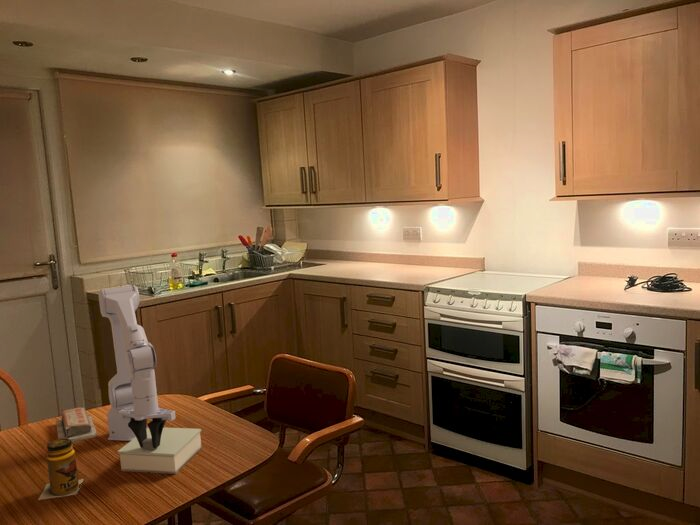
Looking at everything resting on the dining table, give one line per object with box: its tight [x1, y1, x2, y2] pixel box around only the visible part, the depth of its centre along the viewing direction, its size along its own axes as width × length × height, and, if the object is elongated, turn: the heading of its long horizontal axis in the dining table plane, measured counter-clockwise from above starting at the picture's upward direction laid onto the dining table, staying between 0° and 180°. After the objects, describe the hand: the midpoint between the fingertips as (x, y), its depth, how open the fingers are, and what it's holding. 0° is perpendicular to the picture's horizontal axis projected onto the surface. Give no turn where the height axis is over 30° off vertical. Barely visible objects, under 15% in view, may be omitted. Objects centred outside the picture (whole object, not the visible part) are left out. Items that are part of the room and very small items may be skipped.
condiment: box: [37, 438, 84, 501], centre depth 137 cm, size 7×8×12 cm
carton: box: [119, 432, 202, 475], centre depth 151 cm, size 15×14×4 cm
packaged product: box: [55, 406, 98, 443], centre depth 173 cm, size 18×5×10 cm
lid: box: [117, 426, 202, 456], centre depth 150 cm, size 16×15×3 cm
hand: (150, 446), depth 145 cm, fingers closed on lid, 3 cm apart
